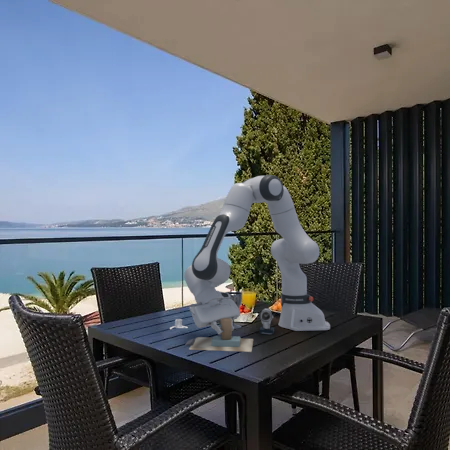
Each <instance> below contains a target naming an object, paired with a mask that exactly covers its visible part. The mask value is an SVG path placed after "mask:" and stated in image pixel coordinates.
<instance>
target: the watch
mask: <svg viewBox="0 0 450 450" xmlns="http://www.w3.org/2000/svg"><path fill="white" fill-rule="evenodd" d="M259 319H260V320H261V321H260V322H261V324H262V326H260V327H259V334H261V335H262V334H263V335H274V333H275V327H272V326H271V322H272V320H273V319H274V315H273V314H272V310H271V308H263V309H262V311H261V312H260V315H259Z"/></svg>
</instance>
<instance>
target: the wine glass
mask: <svg viewBox="0 0 450 450" xmlns="http://www.w3.org/2000/svg"><path fill="white" fill-rule="evenodd" d="M224 292H225V293H229V294H230V298H229V299H232V300H233V301H234V302H235V304H236V305H237V307H238V308H239V309H240V307H241V306H242V301H243V292H242V291H236V290H235V291H233V290H232V291H231V290H230V291H224ZM232 325H233V327H234V330H238V329H241V328H242V325H239V324H236V323H235V320H232Z"/></svg>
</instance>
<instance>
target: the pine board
mask: <svg viewBox="0 0 450 450" xmlns="http://www.w3.org/2000/svg"><path fill="white" fill-rule="evenodd" d="M212 338H213V337H211V336H210V337H205V336H204V337H203V336H198V337H197V336H196V337H195V338H194V339H195V342H194V343H193V345H191V346H190V347H188V350H191V351H218V352H219V351H220V352H221V351H223V352H246V353H247V352H248V353H252V351H253V344H254V338H241V337H240V347H222V346H212Z"/></svg>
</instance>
